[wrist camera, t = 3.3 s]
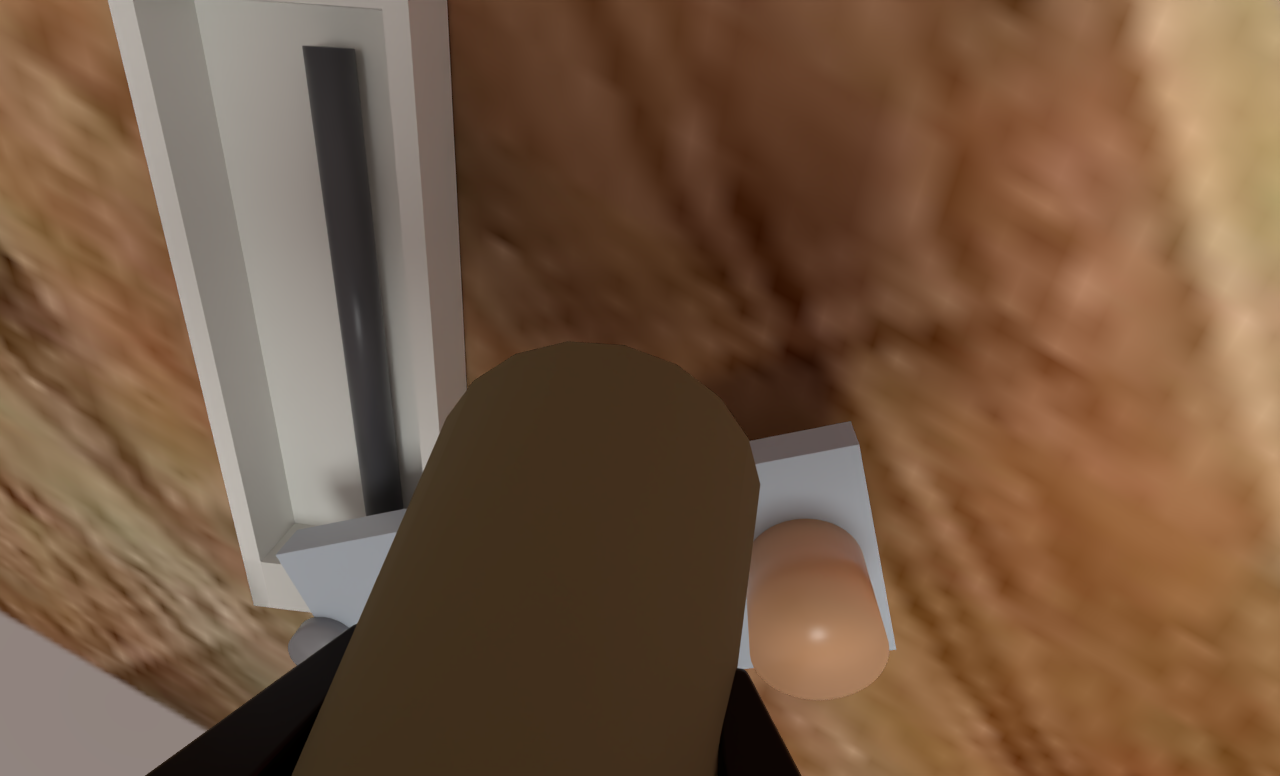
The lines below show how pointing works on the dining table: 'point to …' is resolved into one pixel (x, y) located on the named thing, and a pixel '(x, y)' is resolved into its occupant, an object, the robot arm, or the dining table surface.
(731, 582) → the olive brown bulbous cylinder
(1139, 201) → the dining table surface
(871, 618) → the cover
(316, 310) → the white tray with rod
